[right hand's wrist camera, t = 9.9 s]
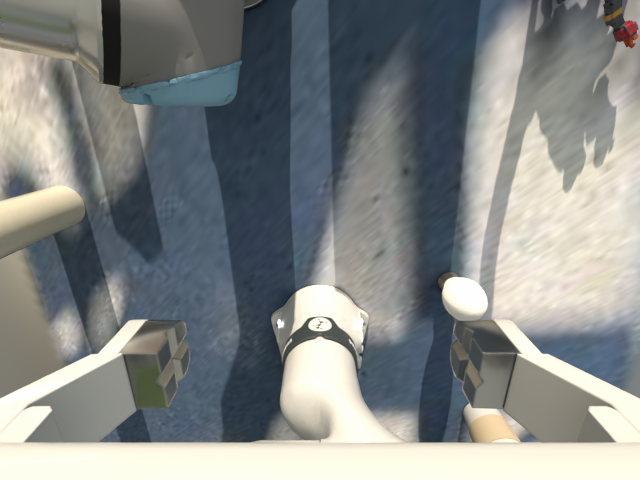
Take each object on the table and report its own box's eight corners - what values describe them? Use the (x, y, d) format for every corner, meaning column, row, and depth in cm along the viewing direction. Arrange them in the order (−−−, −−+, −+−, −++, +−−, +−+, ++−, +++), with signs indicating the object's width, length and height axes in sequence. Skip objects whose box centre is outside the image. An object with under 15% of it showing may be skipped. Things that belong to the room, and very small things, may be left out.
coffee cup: (451, 405, 74) (482, 474, 60) (491, 389, 72) (533, 456, 58) (467, 432, 76) (500, 504, 62) (505, 417, 75) (549, 487, 61)
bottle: (35, 192, 57) (-126, 237, 37) (71, 180, 57) (-72, 218, 36) (58, 230, 60) (-81, 291, 39) (93, 218, 59) (-29, 275, 38)
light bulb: (428, 295, 64) (448, 330, 54) (435, 262, 62) (458, 292, 51) (463, 297, 64) (490, 333, 54) (472, 265, 62) (502, 296, 52)
